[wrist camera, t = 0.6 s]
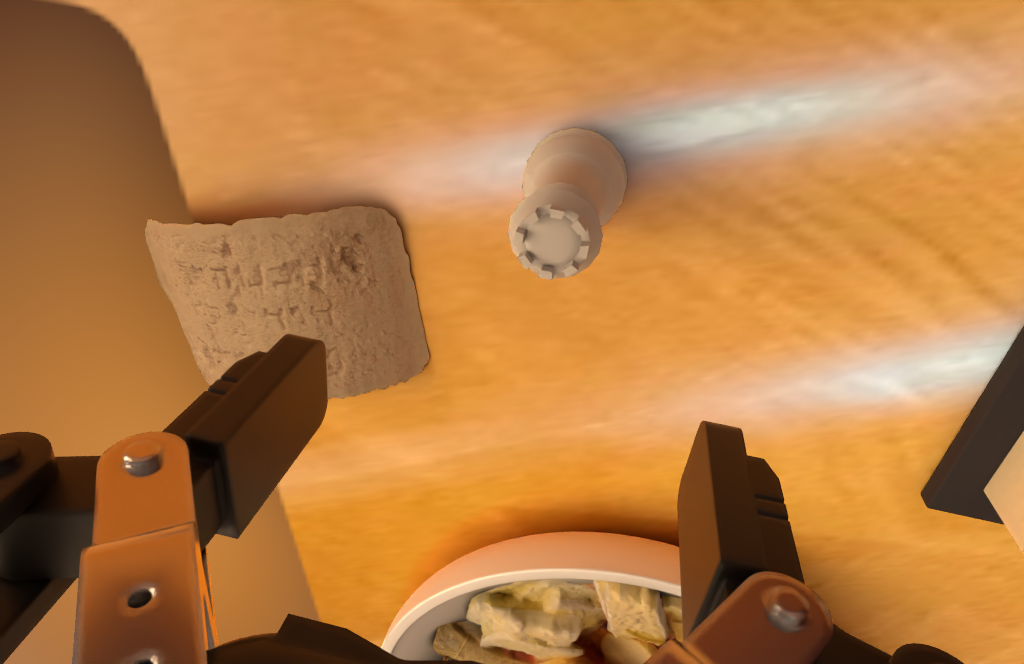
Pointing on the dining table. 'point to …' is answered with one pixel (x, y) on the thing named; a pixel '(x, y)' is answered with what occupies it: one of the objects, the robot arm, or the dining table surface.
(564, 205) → the rook chess piece
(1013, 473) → the tile
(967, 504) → the word mat
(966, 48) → the dining table surface
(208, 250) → the clay tablet
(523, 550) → the bowl
